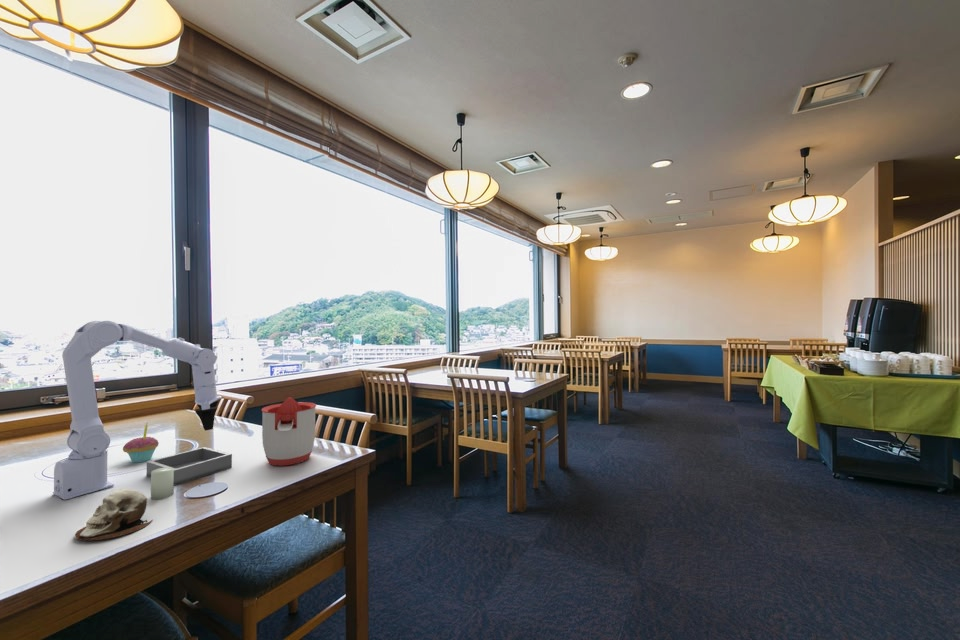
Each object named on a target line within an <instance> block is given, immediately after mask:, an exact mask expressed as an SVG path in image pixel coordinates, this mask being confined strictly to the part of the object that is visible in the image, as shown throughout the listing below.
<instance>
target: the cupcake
mask: <svg viewBox="0 0 960 640" xmlns="http://www.w3.org/2000/svg"><path fill="white" fill-rule="evenodd" d="M148 427H149V426H148V423H145V425H144V430H143V435H142V437H136V438H133V439H131V440H129V441H127V443H125V444H124V445H123V447H122V450H123V452H124V453H127V454H128V456H129V459H130V460H131V462H132V463H144V462H147V461H151V459H152V458H153V455H154V452H155V450H156V448H158V447H159V443H160V442H159V441H158V439H156V438H155V437H151V436H147V433H148Z"/></svg>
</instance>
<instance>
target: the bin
mask: <svg viewBox="0 0 960 640" xmlns="http://www.w3.org/2000/svg"><path fill="white" fill-rule="evenodd" d="M164 467H173V468H174V486H178V485H181V484H184V483H187V482H191V481H193V480H194V481H195V480H196V479H200V478H202V477H205V476H208V475H212V474H215V473H218V472H223V471H225V470H229V469H232V467H233V454H232V453H229V452H225V451H221V450H218V449H214V448H209V447H206V446H203V447H198V448H195V449H190V450H187V451H183V452H180V453H179V452H178V453H176V454H171V455H167V456H163V457H159V458H156V459H152V460H151V459H150V460H147V461H146V476H147V477H149V478H151V472H152V471H153V470H156V469H159V468H164ZM174 486H173V487H174Z"/></svg>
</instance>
